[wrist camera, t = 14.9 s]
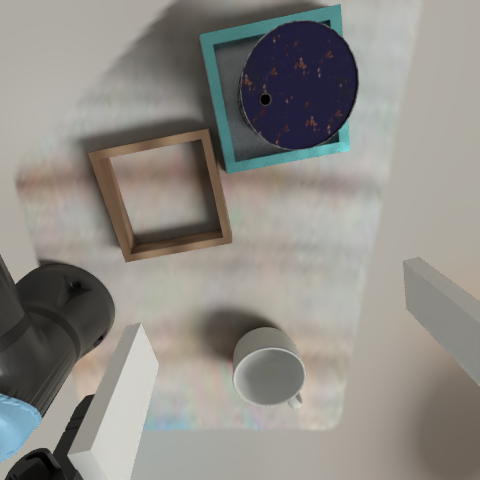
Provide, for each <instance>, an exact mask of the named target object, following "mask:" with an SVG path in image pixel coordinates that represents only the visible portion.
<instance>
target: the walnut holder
mask: <svg viewBox="0 0 480 480" xmlns="http://www.w3.org/2000/svg"><path fill="white" fill-rule="evenodd" d="M199 139H202V144H203V148H204V153H205V157H206V162H207V166H208V171H209V175H210V180H211V184H212V189H213V193H214V198H215V202H216V207H217V211H218V216H219V220H220V225H221V230H216V231H210V232H205V233H200V234H194V235H189V236H183V237H178V238H173V239H167V240H162V241H156V242H151V243H146V244H140V245H137V242H136V239H135V236H134V233H133V230H132V227H131V224H130V221H129V218H128V214H127V211H126V208H125V205H124V202H123V199H122V196H121V193H120V190H119V187H118V184H117V181H116V178H115V175H114V172H113V169H112V165H111V162H110V159H109V157H114V156H119V155H124V154H129V153H134V152H139V151H144V150H149V149H154V148H159V147H164V146H169V145H174V144H179V143H184V142H189V141H194V140H199ZM88 155H89V158H90V161H91V164H92V167H93V170H94V172H95V175H96V178H97V181H98V184H99V187H100V190H101V193H102V195H103V198H104V201H105V204H106V207H107V210H108V213H109V216H110V218H111V221H112V224H113V227H114V230H115V233H116V236H117V239H118V241H119V244H120V247H121V250H122V253H123V256H124V259H125V262H130V261H136V260H141V259H147V258H152V257H158V256H163V255H169V254H174V253H180V252H185V251H191V250H196V249H202V248H207V247H213V246H218V245H223V244H229V243H232V231H231V226H230V222H229V217H228V212H227V207H226V203H225V198H224V193H223V188H222V184H221V179H220V174H219V169H218V165H217V160H216V155H215V150H214V146H213V141H212V136H211V131H210V128H205V129H200V130H195V131H190V132H185V133H180V134H175V135H171V136H166V137H161V138H156V139H151V140H146V141H141V142H136V143H131V144H126V145H121V146H116V147H111V148H106V149H101V150H97V151H93V152H89V153H88Z"/></svg>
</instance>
